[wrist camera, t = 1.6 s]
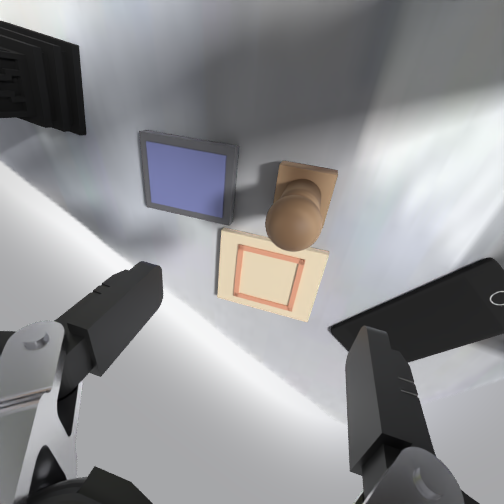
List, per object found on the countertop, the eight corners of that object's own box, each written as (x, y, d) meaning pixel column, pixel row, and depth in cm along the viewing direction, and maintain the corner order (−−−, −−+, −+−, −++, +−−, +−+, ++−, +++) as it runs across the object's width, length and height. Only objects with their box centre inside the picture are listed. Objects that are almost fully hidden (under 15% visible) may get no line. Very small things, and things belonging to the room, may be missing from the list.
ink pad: (239, 146, 25) (234, 148, 24) (232, 221, 29) (228, 226, 28) (146, 130, 27) (137, 131, 26) (152, 203, 31) (145, 207, 30)
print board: (329, 251, 28) (328, 256, 27) (308, 317, 33) (307, 323, 33) (223, 227, 30) (220, 230, 29) (219, 293, 35) (216, 298, 35)
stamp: (337, 168, 24) (339, 207, 15) (323, 218, 27) (318, 275, 18) (283, 159, 25) (257, 191, 16) (275, 208, 27) (248, 258, 19)
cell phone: (534, 315, 26) (540, 322, 25) (369, 368, 35) (370, 374, 35) (490, 253, 24) (495, 258, 24) (329, 325, 34) (328, 330, 33)
